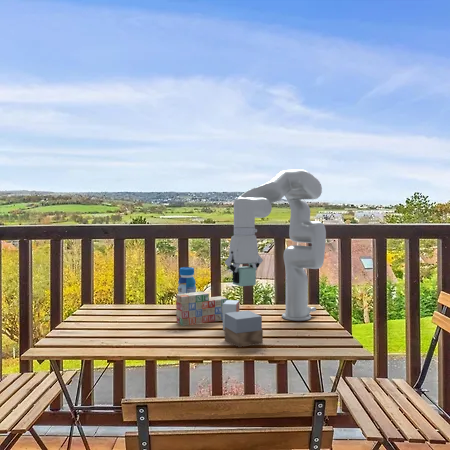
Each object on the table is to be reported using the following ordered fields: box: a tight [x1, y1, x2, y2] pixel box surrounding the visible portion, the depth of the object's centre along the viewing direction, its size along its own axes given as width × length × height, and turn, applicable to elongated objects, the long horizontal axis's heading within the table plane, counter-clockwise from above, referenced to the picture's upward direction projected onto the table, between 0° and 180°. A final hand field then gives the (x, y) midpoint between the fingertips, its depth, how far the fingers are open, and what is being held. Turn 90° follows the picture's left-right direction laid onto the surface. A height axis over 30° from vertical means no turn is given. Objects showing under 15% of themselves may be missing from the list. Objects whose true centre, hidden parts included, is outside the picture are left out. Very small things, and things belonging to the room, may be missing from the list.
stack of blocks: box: [175, 291, 228, 327], centre depth 195 cm, size 21×6×12 cm, turn 118°
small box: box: [222, 299, 240, 331], centre depth 185 cm, size 8×6×10 cm
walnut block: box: [224, 327, 264, 348], centre depth 167 cm, size 10×10×5 cm
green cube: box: [232, 265, 257, 287], centre depth 165 cm, size 6×6×6 cm
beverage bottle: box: [177, 266, 197, 294], centre depth 214 cm, size 8×8×20 cm
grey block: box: [225, 310, 263, 333], centre depth 167 cm, size 10×10×5 cm
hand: (244, 281), depth 166 cm, fingers closed on green cube, 6 cm apart
